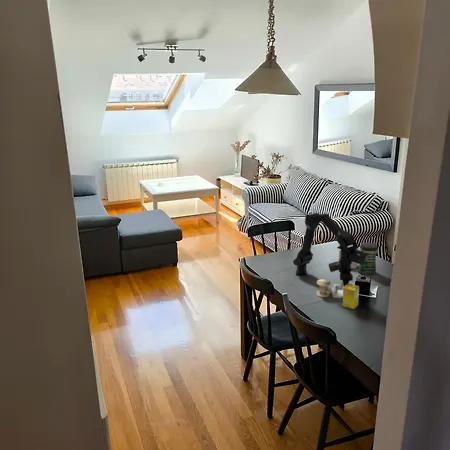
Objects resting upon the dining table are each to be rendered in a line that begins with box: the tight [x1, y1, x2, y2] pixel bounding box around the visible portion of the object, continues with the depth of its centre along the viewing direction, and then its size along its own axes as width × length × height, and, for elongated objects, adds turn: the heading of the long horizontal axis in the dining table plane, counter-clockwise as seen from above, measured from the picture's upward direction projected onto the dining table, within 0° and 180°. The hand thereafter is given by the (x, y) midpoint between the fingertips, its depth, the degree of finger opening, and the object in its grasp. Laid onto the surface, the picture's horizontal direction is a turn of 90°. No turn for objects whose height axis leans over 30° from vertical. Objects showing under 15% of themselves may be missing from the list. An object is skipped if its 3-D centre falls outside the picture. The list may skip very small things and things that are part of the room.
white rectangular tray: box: [331, 283, 343, 299], centre depth 227 cm, size 10×12×3 cm
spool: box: [316, 278, 331, 298], centre depth 227 cm, size 7×7×7 cm
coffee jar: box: [358, 242, 378, 276], centre depth 249 cm, size 10×8×19 cm
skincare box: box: [338, 249, 359, 270], centre depth 261 cm, size 10×6×10 cm, turn 56°
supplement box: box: [342, 282, 360, 311], centre depth 212 cm, size 6×6×11 cm
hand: (344, 285), depth 226 cm, fingers closed on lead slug, 4 cm apart
